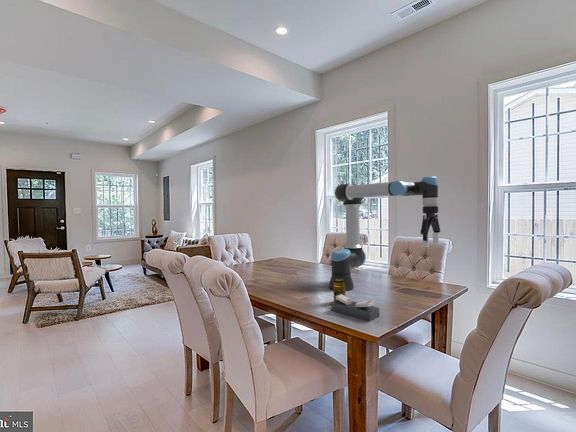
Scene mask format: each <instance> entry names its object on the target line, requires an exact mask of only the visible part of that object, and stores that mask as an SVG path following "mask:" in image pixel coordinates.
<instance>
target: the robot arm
mask: <svg viewBox="0 0 576 432" xmlns="http://www.w3.org/2000/svg"><path fill="white" fill-rule="evenodd" d="M421 179H422V180H421V181H403V180H394V181H386V182H375V183H374V182H373V183H365V184H356V183H341V184H338V185H337V186H336V188H335V189H334V196H335V199H336V200H338V201H339V202H341V203H342V204H343V205H342V206H343V207H344V209H345V230H346V231H345V234H346V235H345V237H346V239H345V240H346V244H345V246H344V248H338V249H334V250H333V251H332V252H331V254H330V255H331V257H330V259H331V260H330V262H331V265H330V266H331V276H330V279H329V283H328V284H329V285H328V288H329V289H330V290H332V291H334V280H335V279H343V280H344V283H345V292H346V291H351V290H354V289H355V283H354V280H353V278H352V273H351V271H352V269H354V268H359V267H361V266H363V265H364V264H365V263H366V260H367V256H366V252H365V251H364V250H363V246H362V244H361V237H360V236H361V233H360V231H361V229H360V226H361V225H360V207H361V205H362V201H363V200H364V198H377V197H379V198H380V197H390V196H391V197H393V196H394V197H395V196H397V197H398V196H402V197H411V196H414V197H415V196H422V199H421V200H422V214H425V215H422V223H421V229H420V235H422V247H423V248H429V247H430V242H429V241H430V239H429V237H430V236H429V235H430V234H429V231H430V227H431V228H432V231H433V232H432V245H436V246H439V242H440V240H439V235H440V233H441V227H440V222H439V215H438V213H439V206H438V205H439V201H440V199H439V181H438V177H437V176H423V177H421Z"/></svg>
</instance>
